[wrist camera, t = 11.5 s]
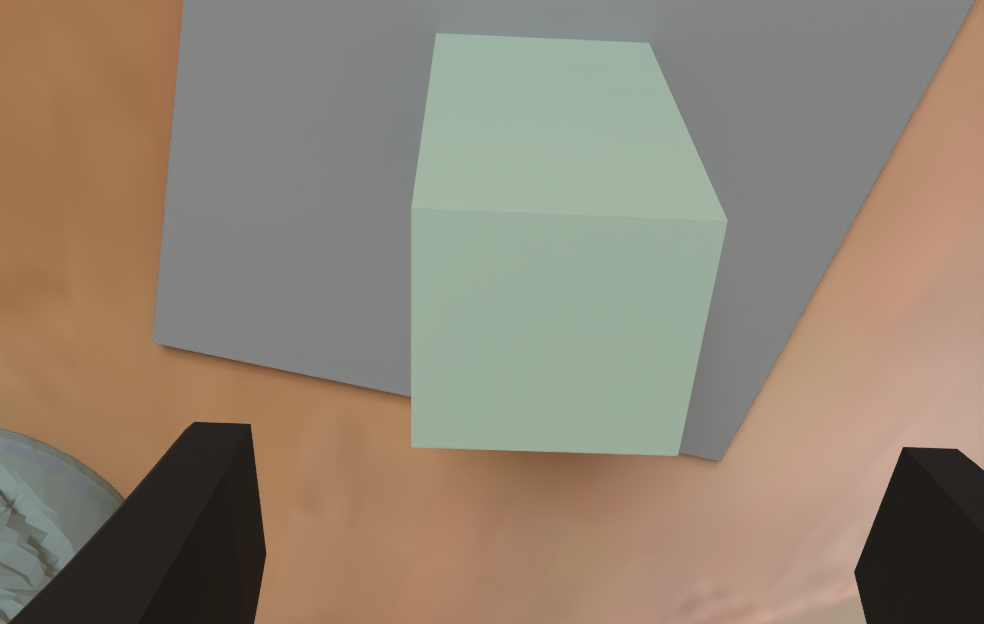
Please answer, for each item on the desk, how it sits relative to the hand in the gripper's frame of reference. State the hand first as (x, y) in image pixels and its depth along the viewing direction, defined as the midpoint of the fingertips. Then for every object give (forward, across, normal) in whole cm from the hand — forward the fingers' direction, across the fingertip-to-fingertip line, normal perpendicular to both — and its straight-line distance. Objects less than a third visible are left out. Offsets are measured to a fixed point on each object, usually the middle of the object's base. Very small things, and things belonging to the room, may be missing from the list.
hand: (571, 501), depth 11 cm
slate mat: (+10, 0, 0) cm, 10 cm away
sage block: (+10, 0, 0) cm, 10 cm away
